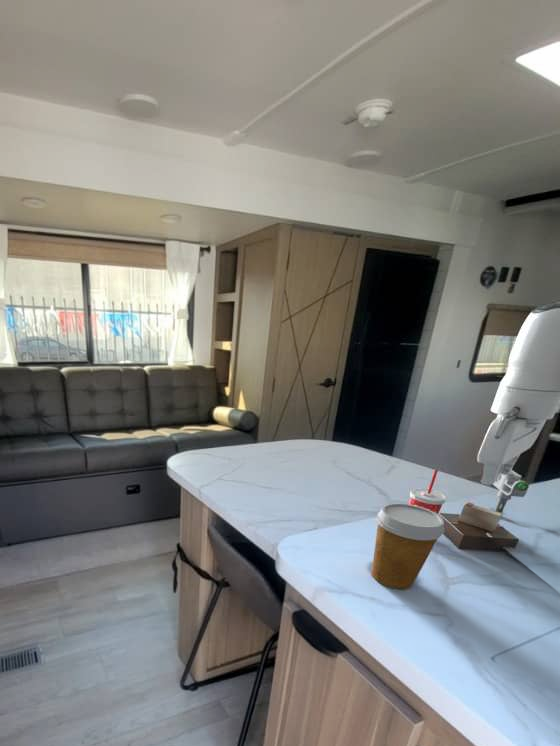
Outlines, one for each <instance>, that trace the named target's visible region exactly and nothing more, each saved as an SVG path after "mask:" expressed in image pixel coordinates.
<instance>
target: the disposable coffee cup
mask: <svg viewBox="0 0 560 746" xmlns="http://www.w3.org/2000/svg"><path fill="white" fill-rule="evenodd" d="M376 519H377V520H376V521H377V529H376V536H375V542H374V543H375V545H374V552H373V559H372V560H373V561H372V567H371V576H372V578H373V579H374V580H375V581H376V582H377V583H379V584H381V585H383V586H385V587H387V588H391V589H394V590H409V589H410V588H412V587H413V585H414V583H415V582H416V580H417V578H418V576H419V574H420V572H421V570H422V569H423V567H424V565H425V564H426V561H427V559H428V557H429V556H430V554H431V552H432V550H433V548H434V546H435V545H436V543H437V541H438V539H440V538H441V536H442V535H444V534H443V533H444V532H445V528H444V521H443V518H442V517H441V516H439V515H438V514H436V513H435V512H433V511H431V510H428V509H425V508H422V507H419V506H415V505H410V504H409V503H402V502H392V503H387V504H385V505H383V506H382V507H381V510H379V511H378V512H377V514H376Z"/></svg>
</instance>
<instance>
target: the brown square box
mask: <svg viewBox="0 0 560 746" xmlns="http://www.w3.org/2000/svg"><path fill="white" fill-rule="evenodd" d="M438 515H439V516H441V517H442V518H443V521H444V528H445V532H444V533H443V534H442V535H444V536H445V537H446V538H447V539H448V540H449V541H450V542H451V543H452V545H454V546H455V547H456V548H457V549H459V550H470V551H485V552H495V553H497V552H498V553H509V551H508V550H507V549H516V548H517V545H518V543H519V541H520V539H519V538H518V537H517V536H515V535H514V534H513V533H511V532H510V531H509V530H507V529H506V528H505V526H504V525H501V524H499V523H498V525H497V527H496V529H495V530H494V531H493V532H491V531H488V530H485V529H482V528H479V527H476V526H473V525H470V524H467V523H464V522H461V521H458V520H459V517H460V515H461V513H448V512H446V513H445V512H439V514H438ZM506 548H507V549H506Z"/></svg>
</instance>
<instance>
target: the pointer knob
mask: <svg viewBox="0 0 560 746" xmlns="http://www.w3.org/2000/svg"><path fill="white" fill-rule="evenodd" d="M460 514H461V515H460V517H459V520H458V521H461V522H464V523H467V524H470V525H473V526H476V527H479V528H482V529H485V530H488V531H491V532H493V531H494V530H495V529H496V527H497V525H498V524H499V523H500V520H501V517H502V515H503V512H502V513H499V512H496V511H494V510H493V509H489V508H485V507H483V506H479V505H476V504H475V503H472V502H466V503H465V504H463V507H462V509H461V512H460Z"/></svg>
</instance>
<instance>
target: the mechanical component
mask: <svg viewBox="0 0 560 746" xmlns="http://www.w3.org/2000/svg"><path fill="white" fill-rule="evenodd" d="M521 479H522V475H521V474H519V473H517V472H516V471H515V470H513V469H512V470H511V472H510V473H509V474H507V475H504V474H499V473H497V478H496V480H495V483H494V484H492V485H493V486H494V487H495V488H497V489H498V493H497V494H496V497H497V501H496V504H495V506H494V509H493V511H496V512H499V513H502V514H503V511H504V509H505V507H506V504H507V502H508V501H510V500H512V497H517V498H524V497H525V496H526V494H527V492H528V490H529V488H530V485H529V483H528V482H527V481H525V480H521Z"/></svg>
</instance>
